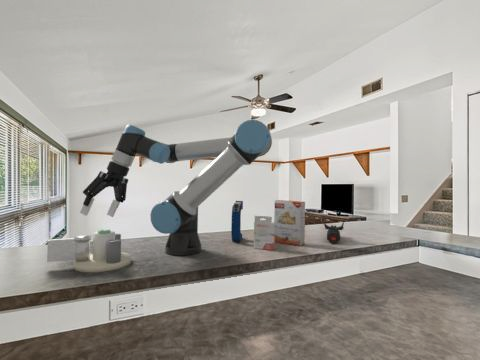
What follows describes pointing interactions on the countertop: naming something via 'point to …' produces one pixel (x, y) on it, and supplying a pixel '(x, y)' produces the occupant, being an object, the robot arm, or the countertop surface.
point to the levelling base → (102, 264)
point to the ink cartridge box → (263, 233)
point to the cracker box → (289, 222)
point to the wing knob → (69, 249)
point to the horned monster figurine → (333, 233)
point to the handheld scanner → (236, 221)
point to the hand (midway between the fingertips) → (97, 215)
